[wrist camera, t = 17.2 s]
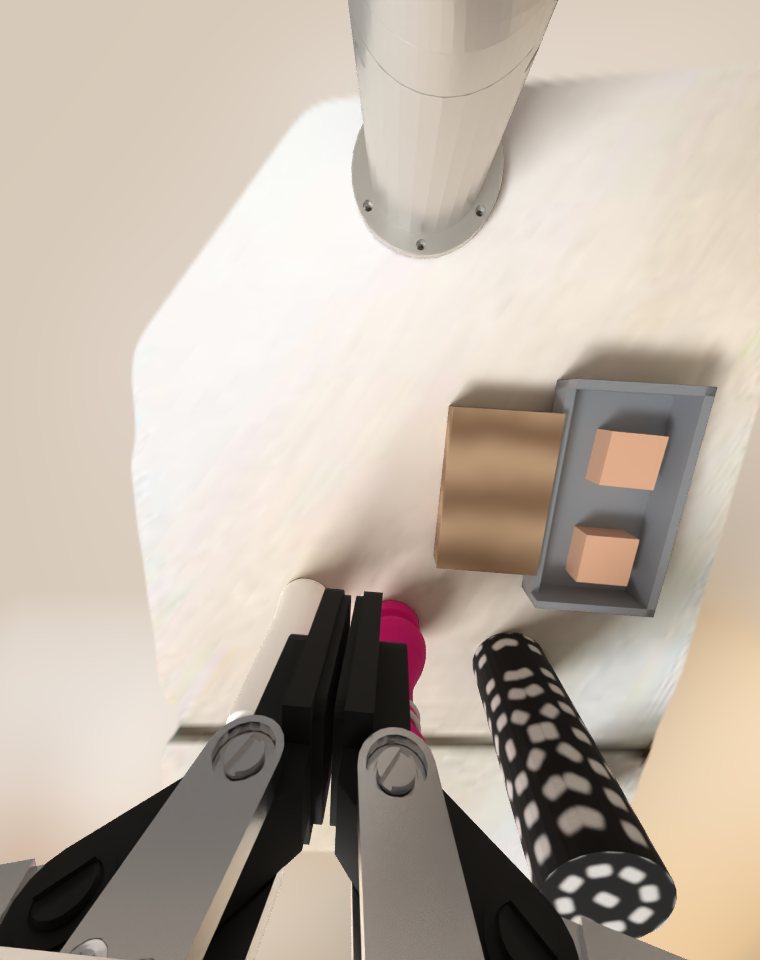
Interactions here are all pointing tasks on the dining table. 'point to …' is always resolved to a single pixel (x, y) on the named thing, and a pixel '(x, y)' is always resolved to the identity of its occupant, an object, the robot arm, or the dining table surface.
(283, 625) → the cosmetic bottle
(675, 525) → the box
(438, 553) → the board
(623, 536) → the tile
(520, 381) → the dining table surface
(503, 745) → the spotted tube
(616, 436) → the tile
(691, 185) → the dining table surface
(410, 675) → the pepper mill
